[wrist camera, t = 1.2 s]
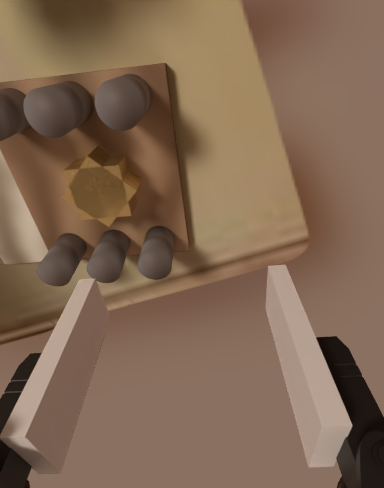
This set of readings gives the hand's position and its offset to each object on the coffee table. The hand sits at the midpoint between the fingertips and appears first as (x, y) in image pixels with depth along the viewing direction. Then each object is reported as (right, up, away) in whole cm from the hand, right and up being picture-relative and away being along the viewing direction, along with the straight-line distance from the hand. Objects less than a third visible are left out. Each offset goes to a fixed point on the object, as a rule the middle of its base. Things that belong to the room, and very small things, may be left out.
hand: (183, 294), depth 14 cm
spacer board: (-12, +9, +15) cm, 21 cm away
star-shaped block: (-8, +9, +14) cm, 18 cm away
